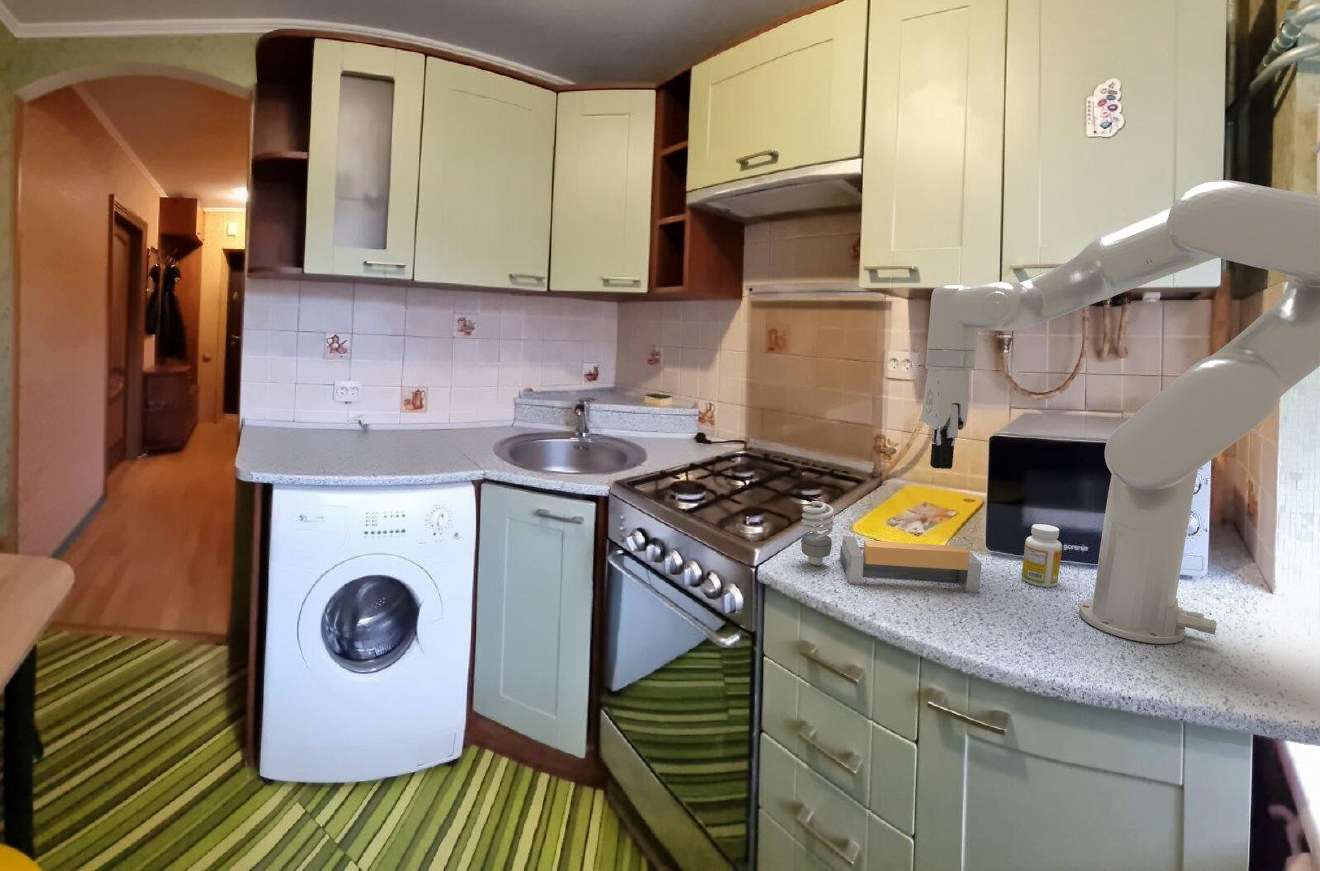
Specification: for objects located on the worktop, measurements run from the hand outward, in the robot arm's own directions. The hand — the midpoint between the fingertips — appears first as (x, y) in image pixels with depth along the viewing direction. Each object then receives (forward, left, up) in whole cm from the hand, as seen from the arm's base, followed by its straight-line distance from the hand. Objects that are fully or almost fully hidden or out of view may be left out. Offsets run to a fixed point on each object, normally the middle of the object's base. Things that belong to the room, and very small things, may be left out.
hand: (940, 467), depth 111 cm
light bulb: (+17, +10, -19) cm, 28 cm away
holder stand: (+3, +4, -19) cm, 20 cm away
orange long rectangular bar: (+1, +9, -15) cm, 17 cm away
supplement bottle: (-16, -8, -19) cm, 26 cm away
